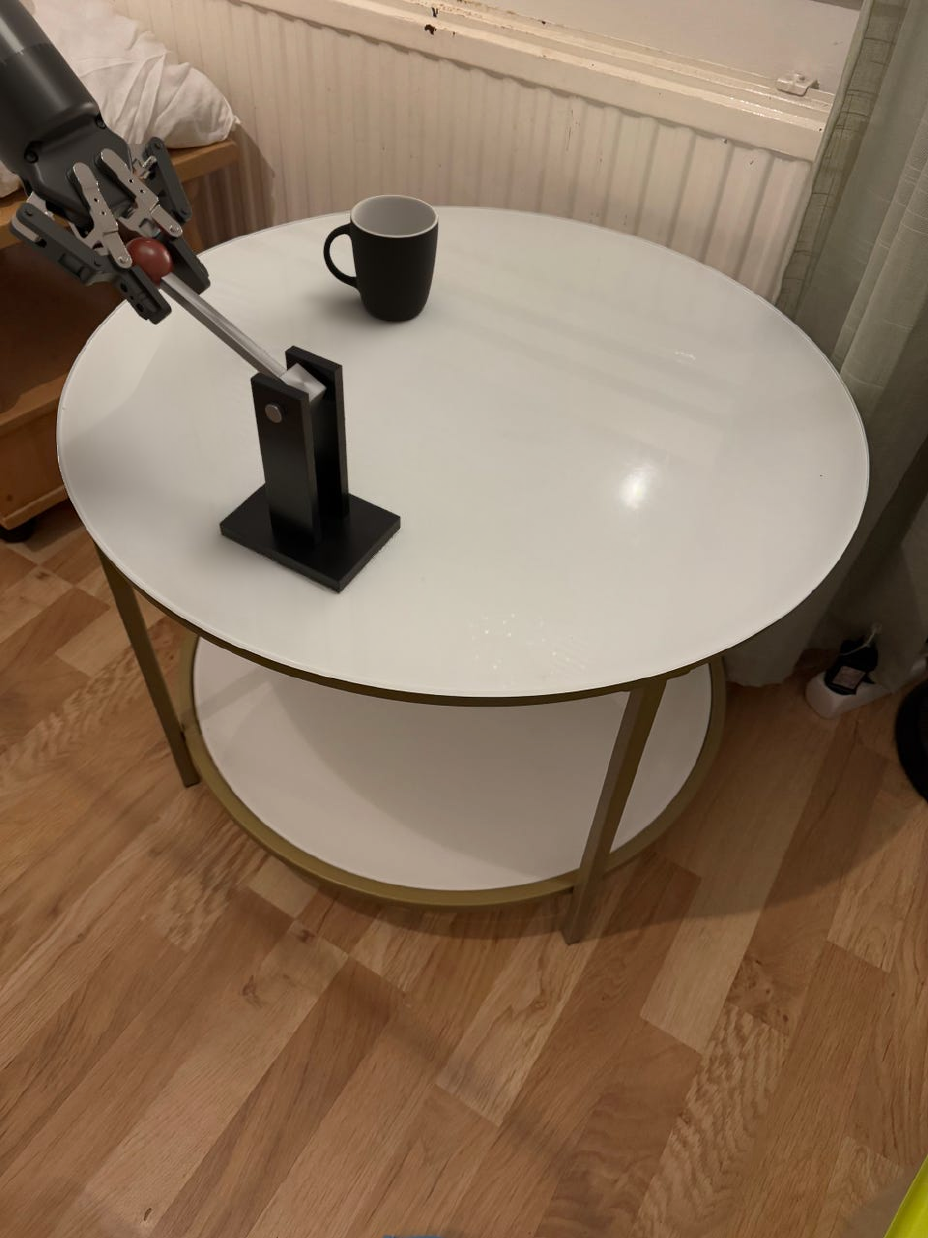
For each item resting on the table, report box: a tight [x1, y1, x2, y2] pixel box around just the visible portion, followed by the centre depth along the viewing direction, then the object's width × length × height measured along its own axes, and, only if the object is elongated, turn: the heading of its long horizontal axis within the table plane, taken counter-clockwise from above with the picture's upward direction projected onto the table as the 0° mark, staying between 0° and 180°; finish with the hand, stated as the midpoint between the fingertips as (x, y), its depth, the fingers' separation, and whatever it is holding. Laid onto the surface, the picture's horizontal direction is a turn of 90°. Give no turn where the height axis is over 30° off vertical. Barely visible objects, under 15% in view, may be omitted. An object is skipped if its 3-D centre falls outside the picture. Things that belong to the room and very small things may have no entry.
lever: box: [124, 236, 326, 413], centre depth 65 cm, size 17×4×4 cm, turn 60°
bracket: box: [218, 345, 402, 594], centre depth 70 cm, size 12×9×16 cm
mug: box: [322, 194, 439, 322], centre depth 95 cm, size 12×9×10 cm
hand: (183, 303), depth 66 cm, fingers closed on lever, 3 cm apart
